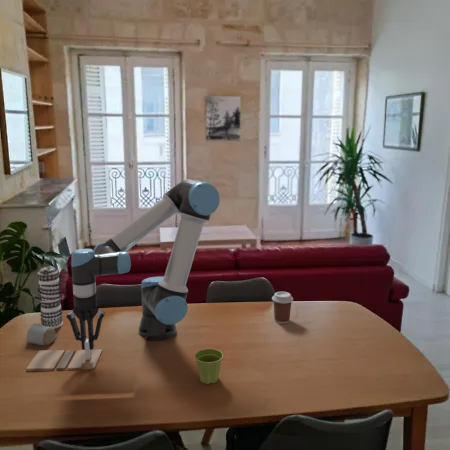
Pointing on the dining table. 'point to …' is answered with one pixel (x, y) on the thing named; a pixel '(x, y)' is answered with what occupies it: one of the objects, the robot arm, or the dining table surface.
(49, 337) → the ceramic mug
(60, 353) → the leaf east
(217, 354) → the plant pot
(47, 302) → the decorative candle
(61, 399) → the dining table surface
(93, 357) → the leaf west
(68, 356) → the centre strip
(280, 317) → the coffee cup
